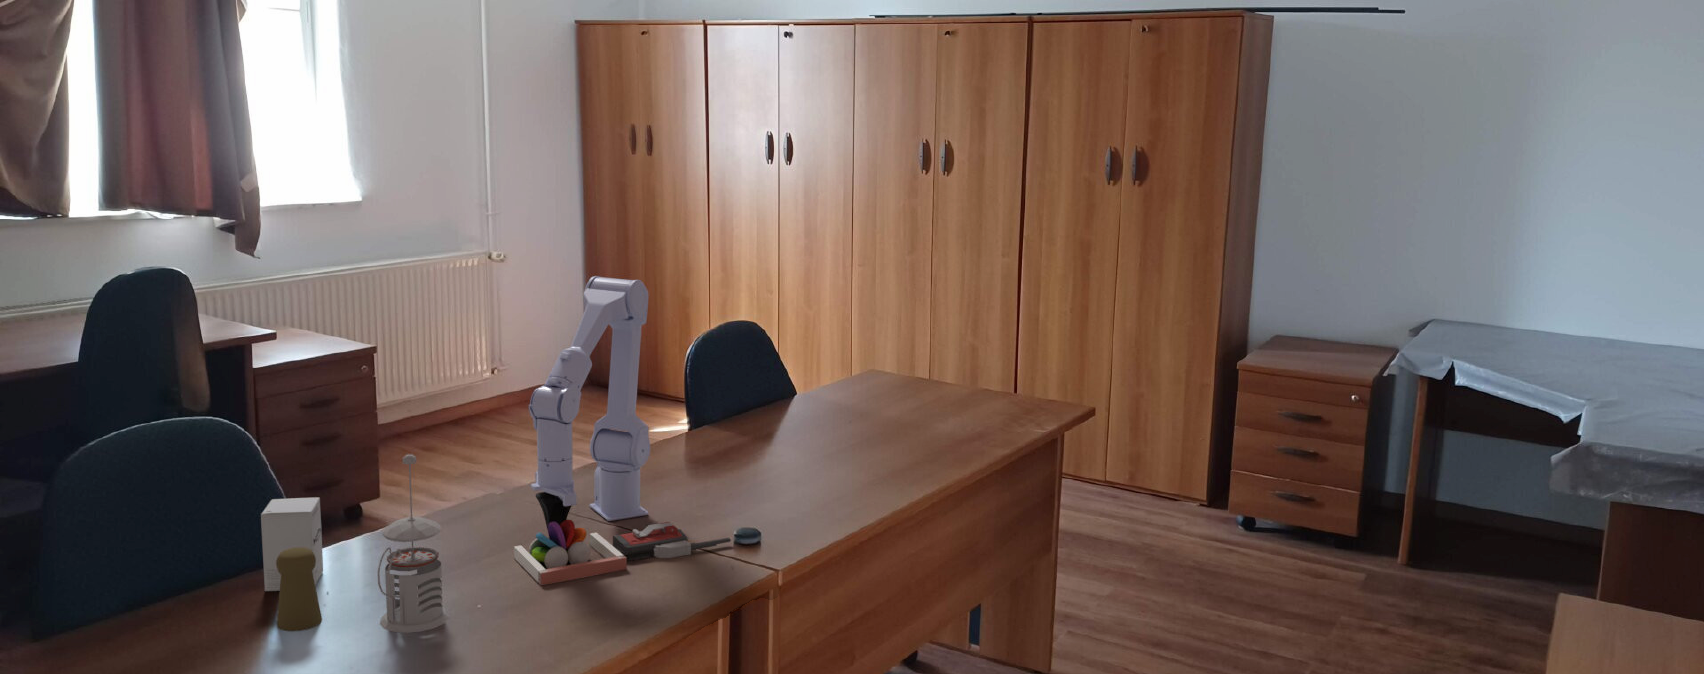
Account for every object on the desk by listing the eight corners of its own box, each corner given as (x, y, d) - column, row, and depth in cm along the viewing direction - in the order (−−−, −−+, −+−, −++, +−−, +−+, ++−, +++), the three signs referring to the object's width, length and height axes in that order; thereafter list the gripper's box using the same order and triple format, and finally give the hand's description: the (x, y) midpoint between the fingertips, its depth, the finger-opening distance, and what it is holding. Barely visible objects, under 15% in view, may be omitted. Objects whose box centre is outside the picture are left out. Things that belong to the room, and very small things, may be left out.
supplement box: (315, 589, 191) (311, 511, 189) (263, 592, 190) (258, 513, 187) (325, 571, 198) (321, 496, 196) (275, 573, 197) (270, 497, 194)
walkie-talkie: (623, 569, 205) (733, 549, 215) (623, 543, 204) (733, 525, 214) (604, 551, 212) (711, 533, 222) (604, 527, 211) (711, 509, 222)
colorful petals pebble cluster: (598, 564, 206) (598, 522, 204) (544, 577, 199) (543, 534, 198) (574, 549, 212) (574, 508, 211) (521, 561, 206) (520, 519, 204)
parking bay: (514, 557, 207) (514, 546, 206) (596, 543, 215) (596, 532, 214) (541, 585, 196) (540, 573, 196) (626, 568, 204) (626, 557, 203)
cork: (293, 634, 176) (289, 561, 174) (267, 623, 179) (263, 551, 177) (331, 620, 181) (327, 548, 179) (305, 610, 184) (301, 539, 182)
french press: (463, 610, 186) (459, 449, 181) (414, 642, 175) (408, 471, 170) (408, 600, 188) (402, 441, 184) (356, 630, 178) (348, 463, 173)
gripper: (517, 448, 211) (518, 524, 214) (546, 471, 199) (547, 551, 202) (557, 443, 215) (558, 518, 218) (588, 466, 203) (588, 544, 206)
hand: (555, 534), depth 210 cm, fingers closed
